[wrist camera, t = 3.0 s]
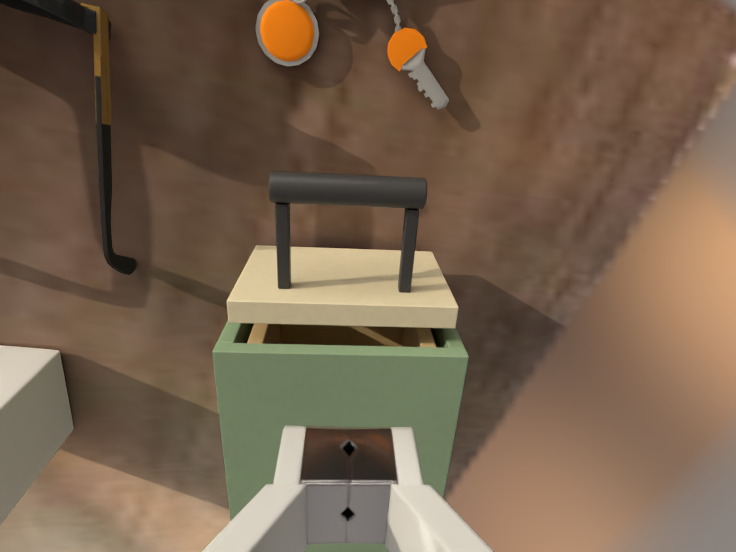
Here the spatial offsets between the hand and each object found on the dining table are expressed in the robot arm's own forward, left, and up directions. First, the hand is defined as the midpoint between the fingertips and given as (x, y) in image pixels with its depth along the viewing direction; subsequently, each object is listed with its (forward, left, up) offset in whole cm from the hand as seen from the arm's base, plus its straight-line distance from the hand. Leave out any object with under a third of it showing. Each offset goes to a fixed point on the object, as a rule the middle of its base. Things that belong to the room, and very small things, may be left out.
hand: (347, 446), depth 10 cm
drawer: (-6, 0, -18) cm, 19 cm away
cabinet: (-12, 0, -19) cm, 22 cm away
